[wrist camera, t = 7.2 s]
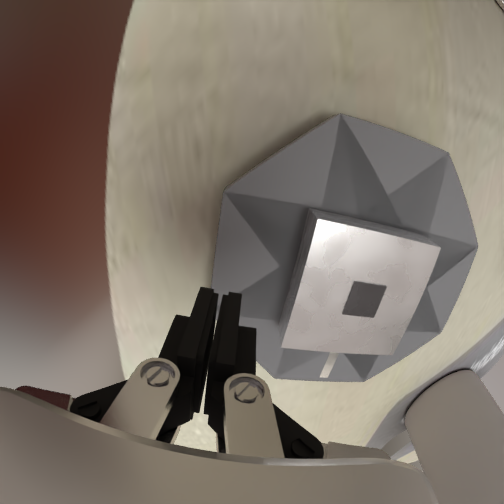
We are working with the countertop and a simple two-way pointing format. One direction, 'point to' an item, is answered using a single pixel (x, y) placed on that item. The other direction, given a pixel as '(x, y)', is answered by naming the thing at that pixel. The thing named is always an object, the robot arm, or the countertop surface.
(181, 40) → the countertop surface
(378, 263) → the cover
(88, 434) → the robot arm
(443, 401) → the cylinder vase
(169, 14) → the countertop surface
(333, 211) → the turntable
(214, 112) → the countertop surface
